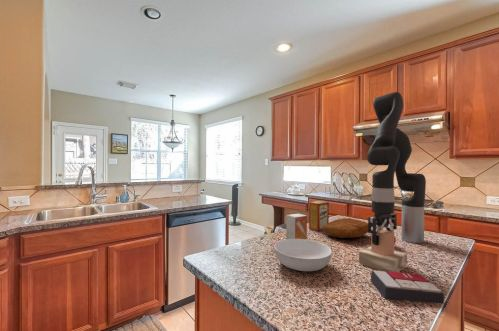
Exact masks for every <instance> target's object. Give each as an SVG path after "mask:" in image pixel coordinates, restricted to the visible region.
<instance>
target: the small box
mask: <svg viewBox="0 0 499 331" xmlns="http://www.w3.org/2000/svg"><path fill="white" fill-rule="evenodd" d="M285 221H286V222H285V225H286V227H285V231H286V232H285V233H286V234H285V240H286V239H306V240H308V234H307V233H308V215H307V214H306V215H305V214H303V213H302V214H301V213H293V214H286V217H285Z"/></svg>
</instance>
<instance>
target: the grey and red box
mask: <svg viewBox="0 0 499 331" xmlns="http://www.w3.org/2000/svg"><path fill="white" fill-rule="evenodd" d="M370 282H371V284H372V285H373V286H374V288H376V290H377V291H378V293H379V294H380V295H381V296H382V297H383V299H384V300H386V301H396V302H397V301H399V302H403V301H408V302H417V303H428V304H441V305H442V304H445V303H444V302H445V301H444V300H445V294H444V292H442V290H441V289H439V288H438V287H437V286H436V285H434V284H433V283H432V282H430V280H428V279H427V278H425V276H423V275H421V274H417V273H410V272H409V273H408V272H400V271H399V272H390V271H387V272H384V271H380V270H376V269H374V270H372V271H371V274H370Z"/></svg>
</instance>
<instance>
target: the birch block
mask: <svg viewBox="0 0 499 331" xmlns="http://www.w3.org/2000/svg"><path fill="white" fill-rule="evenodd" d="M407 257H408V253H406V252H403V251H399V250H395V249H394V254H392V255H388V256H383V255H380V254H377V253H374V252H371V245H370V246H368V247H366V248H364V249H361V250H359V251H358V265H362V264H363V266H365V265H366V267H368V266H369V268H371V269H374V270H376V271H384V272H387V271H390V272H400V271H401V270H403V269H404V268H406V267H407V266H408V265H407V264H408V258H407Z"/></svg>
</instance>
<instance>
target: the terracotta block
mask: <svg viewBox="0 0 499 331" xmlns="http://www.w3.org/2000/svg"><path fill="white" fill-rule="evenodd" d="M376 232H377V229H376ZM370 234H371V233H370ZM394 236H395V231H394V232H392V231H388V230H386V229H384V228H383V229H382V230H381V231H380V233H379V245H374V244H372V234H371V235H370V246H371V252H374V253H377V254H380V255H383V256H388V255H392V254H394V250H395V244H394Z"/></svg>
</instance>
